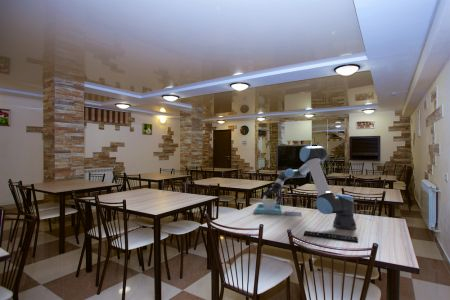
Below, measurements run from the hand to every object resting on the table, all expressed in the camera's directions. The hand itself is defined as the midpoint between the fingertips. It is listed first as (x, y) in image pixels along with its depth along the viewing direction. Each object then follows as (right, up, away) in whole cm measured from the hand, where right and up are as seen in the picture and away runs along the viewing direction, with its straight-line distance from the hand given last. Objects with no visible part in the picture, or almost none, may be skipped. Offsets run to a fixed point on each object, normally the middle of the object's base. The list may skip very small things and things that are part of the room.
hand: (268, 203), depth 228 cm
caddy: (+1, -7, +1) cm, 7 cm away
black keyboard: (+29, -9, -65) cm, 72 cm away
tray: (+1, -8, +1) cm, 8 cm away
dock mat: (+20, -8, -10) cm, 24 cm away
